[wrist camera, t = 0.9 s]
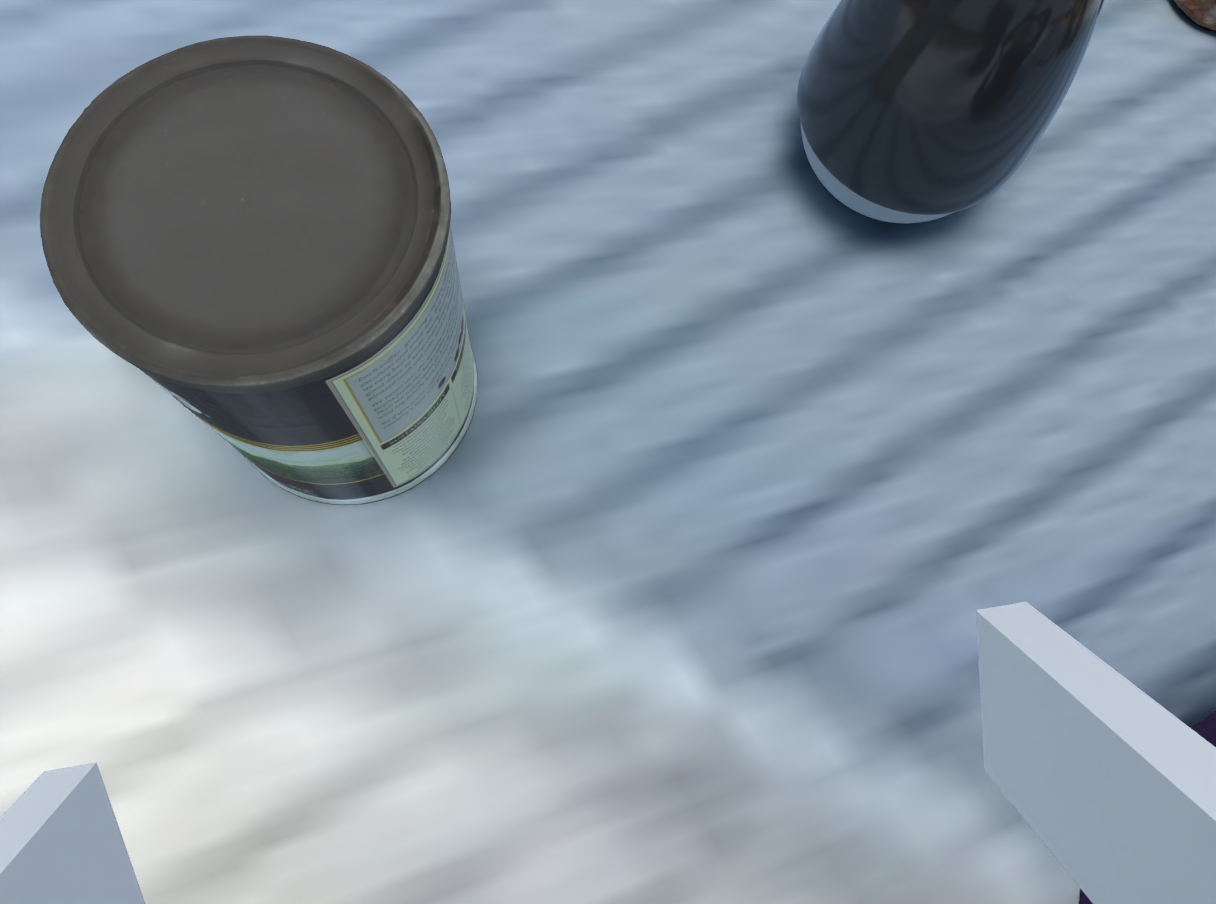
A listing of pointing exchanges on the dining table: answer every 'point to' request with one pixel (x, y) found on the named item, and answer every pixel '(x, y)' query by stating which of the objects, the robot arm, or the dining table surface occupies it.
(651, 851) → the dining table surface
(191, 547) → the dining table surface
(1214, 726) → the ringed planet sculpture
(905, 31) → the black egg shape
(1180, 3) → the sauce bottle
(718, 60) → the dining table surface
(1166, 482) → the dining table surface
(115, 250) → the coffee can
